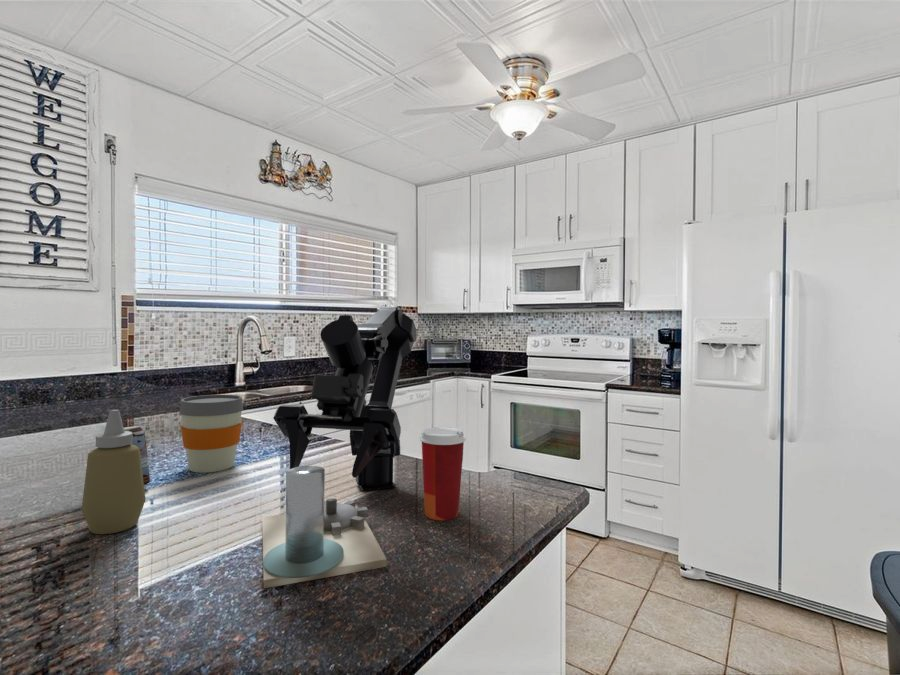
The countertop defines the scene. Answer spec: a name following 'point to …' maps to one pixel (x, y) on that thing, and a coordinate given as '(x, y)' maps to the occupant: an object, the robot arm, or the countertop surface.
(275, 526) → the board
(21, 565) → the countertop surface
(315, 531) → the axle
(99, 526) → the squeeze bottle
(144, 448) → the beverage can
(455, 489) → the paper cup
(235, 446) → the reusable coffee cup
